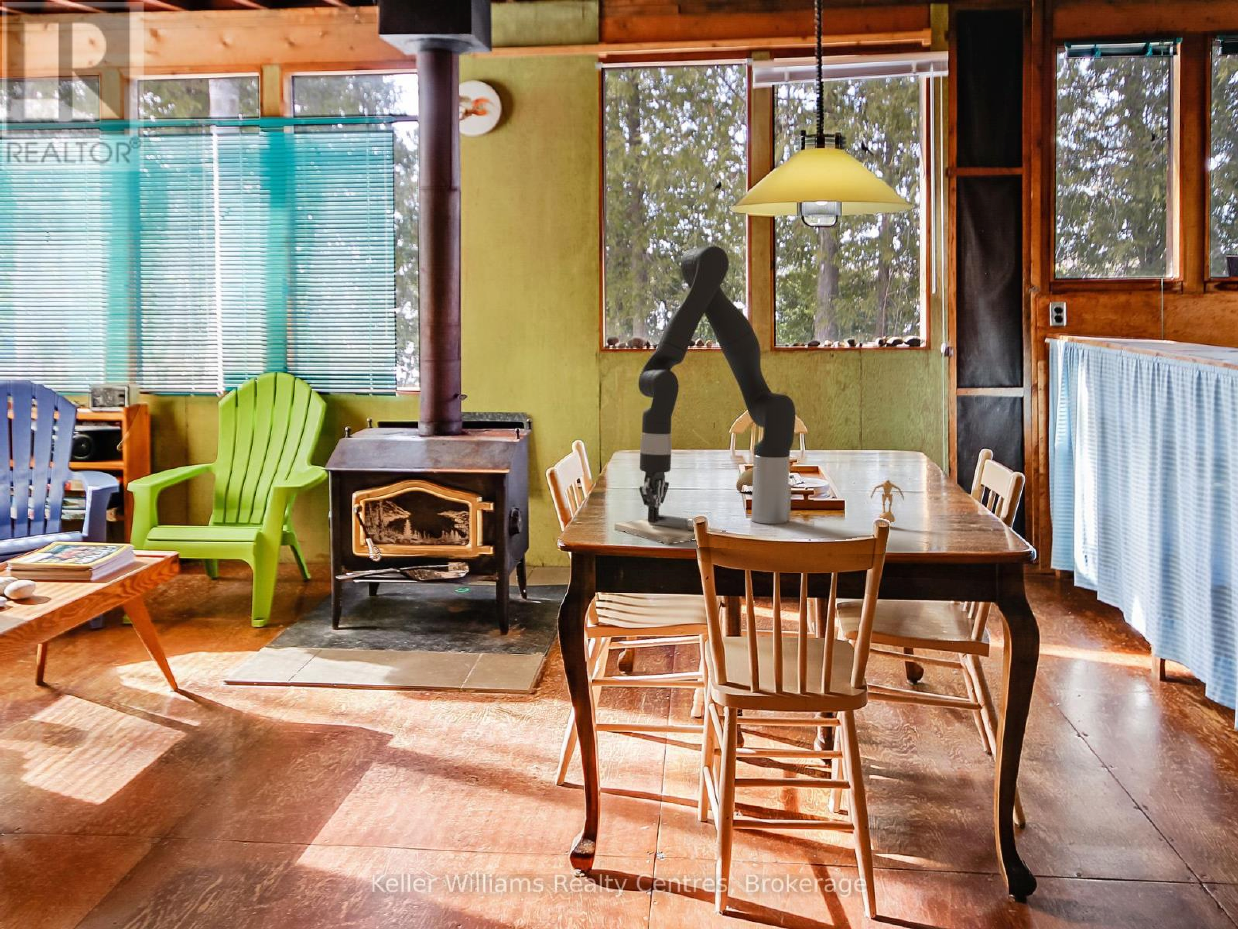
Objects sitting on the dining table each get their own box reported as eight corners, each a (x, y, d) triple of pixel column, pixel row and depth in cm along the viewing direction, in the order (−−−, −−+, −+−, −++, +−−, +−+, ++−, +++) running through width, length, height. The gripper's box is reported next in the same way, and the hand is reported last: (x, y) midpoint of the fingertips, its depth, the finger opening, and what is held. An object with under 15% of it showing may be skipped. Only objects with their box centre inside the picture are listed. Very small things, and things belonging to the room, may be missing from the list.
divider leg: (702, 528, 268) (702, 519, 267) (695, 531, 265) (695, 521, 265) (651, 521, 276) (652, 512, 276) (644, 523, 273) (644, 514, 273)
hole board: (671, 522, 285) (671, 516, 285) (725, 536, 269) (726, 529, 268) (614, 529, 275) (614, 522, 275) (667, 544, 258) (667, 537, 258)
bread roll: (788, 495, 330) (789, 469, 329) (738, 495, 330) (739, 468, 329) (782, 490, 340) (783, 464, 339) (734, 490, 339) (734, 464, 338)
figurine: (870, 527, 282) (872, 481, 281) (868, 523, 288) (870, 477, 287) (903, 529, 281) (906, 482, 280) (901, 524, 287) (903, 479, 285)
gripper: (658, 455, 261) (656, 527, 263) (680, 450, 273) (677, 520, 275) (630, 452, 264) (627, 524, 267) (652, 448, 276) (650, 517, 278)
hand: (653, 522), depth 271 cm, fingers closed
